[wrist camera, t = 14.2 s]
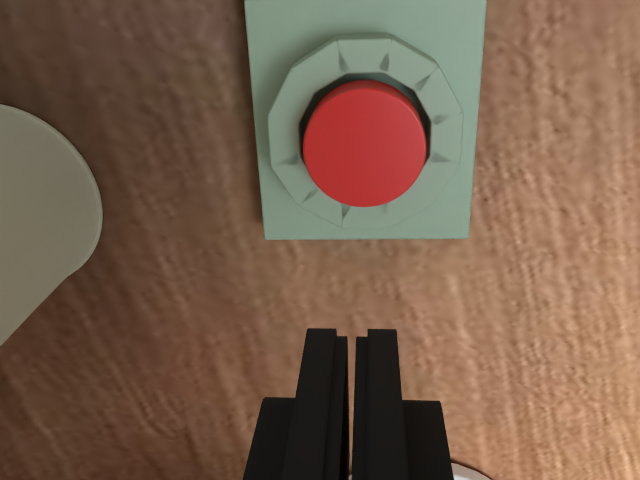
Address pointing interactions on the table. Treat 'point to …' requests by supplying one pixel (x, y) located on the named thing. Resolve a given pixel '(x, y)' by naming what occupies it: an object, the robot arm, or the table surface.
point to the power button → (364, 143)
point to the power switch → (366, 64)
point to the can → (41, 214)
